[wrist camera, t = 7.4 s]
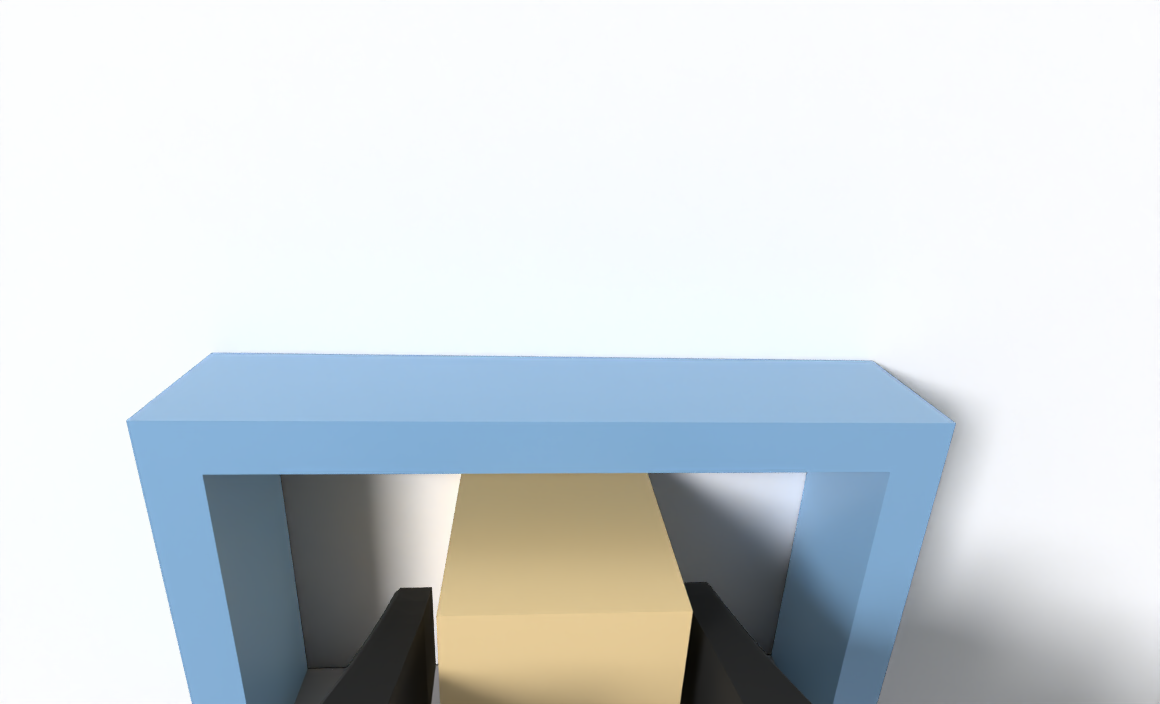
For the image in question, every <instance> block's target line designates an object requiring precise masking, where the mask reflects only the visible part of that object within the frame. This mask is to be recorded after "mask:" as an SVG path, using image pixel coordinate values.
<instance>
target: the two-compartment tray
mask: <svg viewBox="0 0 1160 704" xmlns="http://www.w3.org/2000/svg"><path fill="white" fill-rule="evenodd" d="M126 422H127V426H128V430H129V434H130V439H131V443H132V447H133V452H134V456H135V460H136V465H137V469H138V473H139V477H140V482H141V486H142V490H143V495H144V499H145V503H146V508H147V512H148V516H149V520H150V525H151V529H152V533H153V538H154V542H155V546H156V551H157V555H158V559H159V563H160V568H161V572H162V576H163V581H164V585H165V589H166V594H167V598H168V602H169V606H170V611H171V615H172V619H173V624H174V628H175V632H176V637H177V641H178V645H179V649H180V654H181V658H182V662H183V667H184V671H185V675H186V680H187V684H188V688H189V692H190V697H191V701H192V704H320V703H321V701H322V700H323V699H324V698H325V696H326V695H327V694H328V692H329V691H330V690H331V689H332V687H333V686H334V685H335V683H336V682H337V681H338V680H339V678H340V677H341V675H342V674H343V673H344V671H345V670H346V669H347V668H321V669H308V667H307V660H306V653H305V646H304V639H303V632H302V625H301V618H300V611H299V604H298V597H297V590H296V583H295V576H294V569H293V562H292V555H291V547H290V540H289V533H288V526H287V519H286V512H285V505H284V498H283V491H282V484H281V477H280V474H502V473H765V472H807V474H806V480H805V485H804V490H803V495H802V500H801V505H800V510H799V516H798V521H797V526H796V531H795V536H794V541H793V546H792V552H791V557H790V562H789V567H788V572H787V577H786V582H785V588H784V593H783V598H782V603H781V608H780V613H779V618H778V623H777V629H776V634H775V639H774V644H773V649H772V654H771V655H767V656H768V657H769V658H770V659H771V661H772V662H773V663H774V664H775V665H776V666H777V667H778V668H779V670H780V671H781V672H782V673H783V674H784V675H785V676H786V677H787V678H788V679H789V680H790V681H791V683H792V684H793V685H794V686H795V687H796V688H797V689H798V690H799V691H800V692H801V693H802V694H803V695H804V696H805V697H806V698H807V699H808V700H809V701H810V702H811V703H812V704H877V702H878V699H879V695H880V691H881V688H882V684H883V681H884V677H885V674H886V670H887V667H888V663H889V659H890V656H891V652H892V649H893V645H894V642H895V638H896V635H897V631H898V627H899V624H900V620H901V617H902V613H903V610H904V606H905V603H906V599H907V595H908V592H909V588H910V585H911V581H912V578H913V574H914V571H915V567H916V563H917V560H918V556H919V553H920V549H921V546H922V542H923V538H924V535H925V531H926V528H927V524H928V521H929V517H930V514H931V510H932V506H933V503H934V499H935V496H936V492H937V489H938V485H939V482H940V478H941V474H942V471H943V467H944V464H945V460H946V457H947V453H948V450H949V446H950V442H951V439H952V435H953V432H954V428H955V425H956V423H955V422H954V421H952V420H951V419H950V418H948V417H947V416H946V415H944V414H943V413H941V412H940V411H939V410H937V409H936V408H935V407H933V406H932V405H931V404H929V403H928V402H927V401H925V400H924V399H923V398H921V397H920V396H919V395H917V394H916V393H915V392H913V391H912V390H911V389H909V388H908V387H907V386H905V385H904V384H903V383H901V382H900V381H899V380H897V379H896V378H895V377H893V376H892V375H891V374H889V373H888V372H887V371H885V370H884V369H883V368H881V367H880V366H879V365H877V364H876V363H875V362H873V361H856V360H772V359H688V358H604V357H520V356H436V355H352V354H269V353H211V354H210V355H208V356H207V357H206V358H205V359H203V360H202V361H201V362H199V363H198V364H197V365H196V366H194V367H193V368H192V369H191V370H189V371H188V372H187V373H186V374H184V375H183V376H182V377H181V378H179V379H178V380H177V381H176V382H174V383H173V384H172V385H171V386H169V387H168V388H167V389H166V390H164V391H163V392H162V393H160V394H159V395H158V396H157V397H155V398H154V399H153V400H152V401H150V402H149V403H148V404H147V405H145V406H144V407H143V408H142V409H140V410H139V411H138V412H137V413H135V414H134V415H133V416H132V417H130V418H129V419H128V420H126ZM431 704H440V692H439V668H438V665H436V669H435V677H434V686H433V695H432V703H431Z"/></svg>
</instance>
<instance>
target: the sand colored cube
mask: <svg viewBox="0 0 1160 704" xmlns="http://www.w3.org/2000/svg"><path fill="white" fill-rule="evenodd" d="M692 614H693V610H692V607H691V604H690V601H689V598H688V595H687V592H686V589H685V586H684V583H683V580H682V577H681V574H680V571H679V567H678V564H677V561H676V558H675V555H674V552H673V549H672V546H671V543H670V540H669V537H668V534H667V531H666V528H665V525H664V522H663V519H662V515H661V512H660V509H659V506H658V503H657V500H656V497H655V494H654V491H653V488H652V485H651V482H650V479H649V476H648V473H502V474H461V479H460V484H459V490H458V496H457V502H456V507H455V513H454V519H453V524H452V530H451V536H450V542H449V547H448V553H447V559H446V564H445V570H444V576H443V582H442V587H441V593H440V599H439V604H438V610H437V616H436V618H437V643H438V668H439V692H440V704H680V700H681V692H682V685H683V678H684V671H685V664H686V657H687V649H688V642H689V635H690V628H691V621H692Z"/></svg>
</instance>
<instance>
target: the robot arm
mask: <svg viewBox="0 0 1160 704" xmlns="http://www.w3.org/2000/svg"><path fill="white" fill-rule="evenodd" d="M684 586H685V589H686V592H687V595H688V598H689V601H690V604H691V607H692V610H693V614H692V621H691V628H690V635H689V642H688V649H687V657H686V664H685V671H684V678H683V685H682V692H681V700H680V704H812V703H811V702H810V701H809V700H808V699H807V698H806V697H805V696H804V695H803V694H802V693H801V692H800V691H799V690H798V689H797V688H796V687H795V686H794V685H793V684H792V683H791V681H790V680H789V679H788V678H787V677H786V676H785V675H784V674H783V673H782V672H781V671H780V670H779V668H778V667H777V666H776V665H775V664H774V663H773V662H772V661H771V659H770V658H769V657H768V656H767V655H766V654H765V653H764V651H763V650H762V649H761V648H760V647H759V646H758V645H757V643H756V642H755V641H754V640H753V639H752V637H751V636H750V635H749V634H748V633H747V631H746V630H745V629H744V628H743V627H742V625H741V624H740V623H739V622H738V620H737V619H736V618H735V617H734V615H733V614H732V613H731V612H730V610H729V609H728V608H727V607H726V605H725V604H724V603H723V601H722V600H721V599H720V598H719V596H718V595H717V594H716V592H715V591H714V590H713V589H712V587H711V586H710V585H709V584H708V583H707V582H688V583H684ZM435 669H436V661H435V641H434V620H433V600H432V587H423V588H400V589H399V590H398V591H396V592H395V594H394V596H393V597H392V599H391V601H390V603H389V605H388V606H387V608H386V610H385V611H384V613H383V615H382V616H381V618H380V620H379V621H378V623H377V624H376V626H375V627H374V629H373V631H372V632H371V634H370V635H369V637H368V638H367V640H366V641H365V643H364V644H363V646H362V647H361V649H360V650H359V651H358V653H357V654H356V656H355V657H354V659H353V660H352V661H351V663H350V664H349V666H348V667H347V669H346V670H345V671H344V673H343V674H342V675H341V677H340V678H339V680H338V681H337V682H336V683H335V685H334V686H333V687H332V689H331V690H330V691H329V692H328V694H327V695H326V696H325V698H324V699H323V700H322V701H321V703H320V704H431V703H432V695H433V686H434V677H435Z"/></svg>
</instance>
